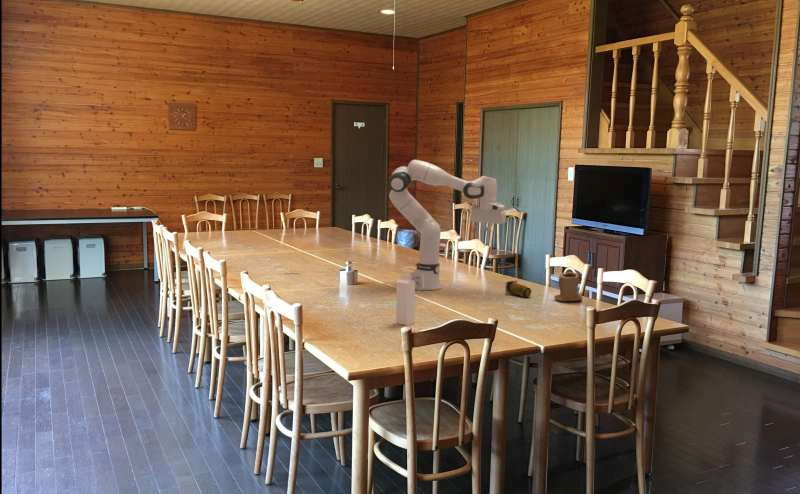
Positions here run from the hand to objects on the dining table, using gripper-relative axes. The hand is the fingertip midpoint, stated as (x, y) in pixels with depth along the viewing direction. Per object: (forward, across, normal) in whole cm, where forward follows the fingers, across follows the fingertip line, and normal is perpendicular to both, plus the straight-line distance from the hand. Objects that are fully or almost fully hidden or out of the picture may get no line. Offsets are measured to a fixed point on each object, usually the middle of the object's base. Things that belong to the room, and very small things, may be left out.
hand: (487, 231), depth 356 cm
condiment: (+30, +12, +6) cm, 33 cm away
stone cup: (+34, +44, +11) cm, 57 cm away
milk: (+34, +3, -80) cm, 87 cm away
